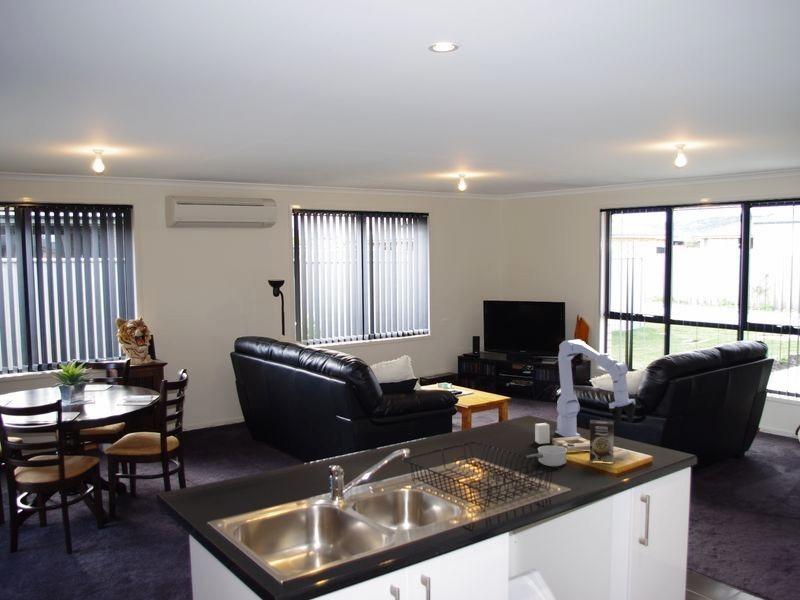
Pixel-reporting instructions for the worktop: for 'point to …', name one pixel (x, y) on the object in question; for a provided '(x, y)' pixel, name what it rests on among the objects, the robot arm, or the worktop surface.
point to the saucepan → (551, 455)
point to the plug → (542, 433)
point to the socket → (572, 443)
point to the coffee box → (601, 440)
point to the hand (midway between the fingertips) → (624, 423)
